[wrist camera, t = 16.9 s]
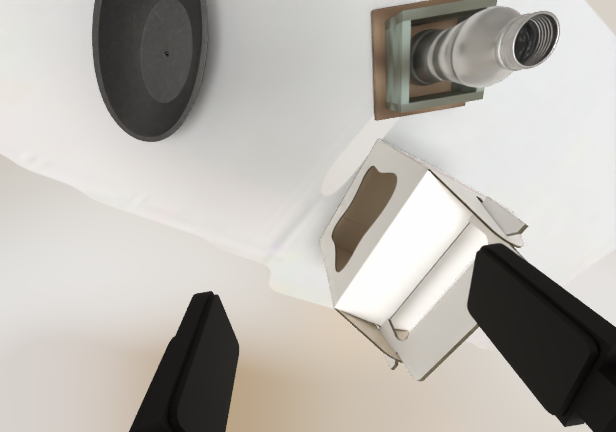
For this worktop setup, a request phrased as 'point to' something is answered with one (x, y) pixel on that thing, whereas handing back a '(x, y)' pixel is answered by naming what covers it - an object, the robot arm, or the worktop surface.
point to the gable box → (410, 256)
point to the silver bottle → (483, 47)
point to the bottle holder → (396, 57)
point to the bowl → (149, 62)
